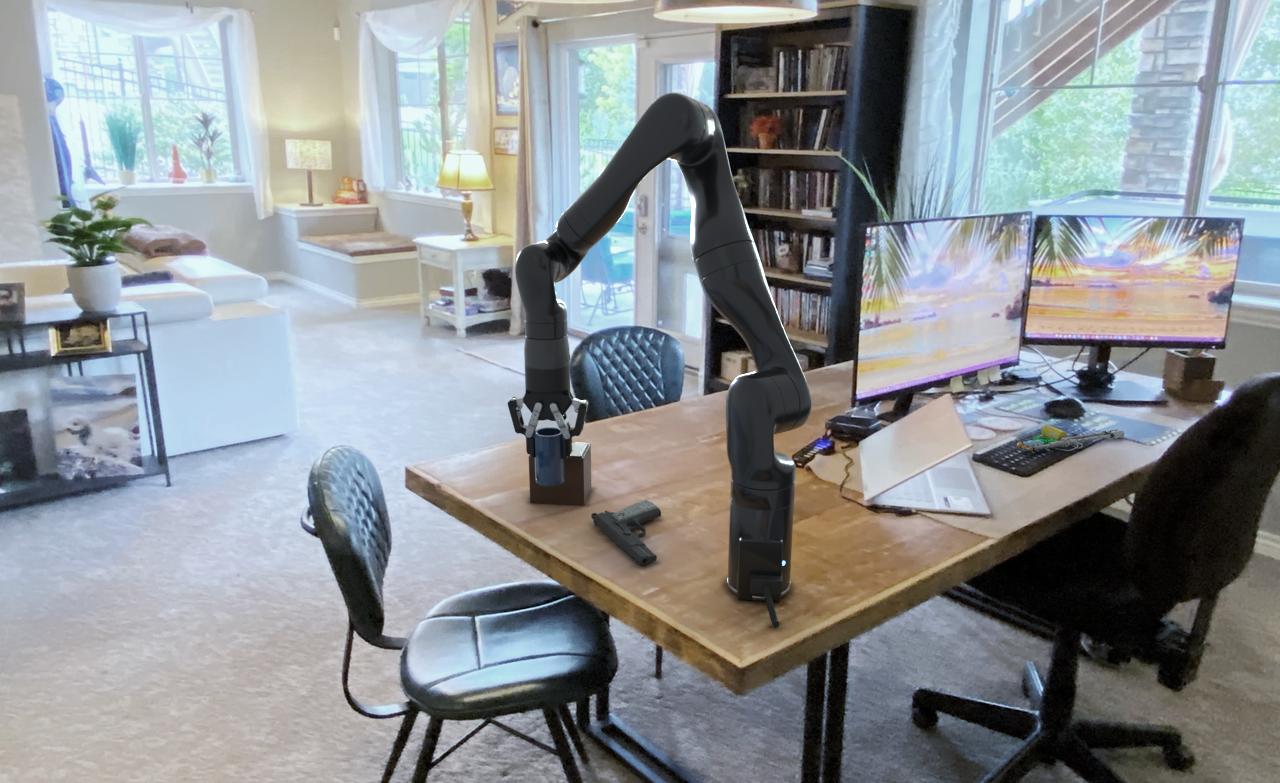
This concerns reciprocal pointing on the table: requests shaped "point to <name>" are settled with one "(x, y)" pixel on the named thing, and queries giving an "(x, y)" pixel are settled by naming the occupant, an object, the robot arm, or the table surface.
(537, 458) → the pen cup
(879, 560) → the table surface
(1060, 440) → the flamethrower
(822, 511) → the table surface
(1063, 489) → the table surface
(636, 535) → the handgun
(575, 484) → the dark brown box
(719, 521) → the table surface
